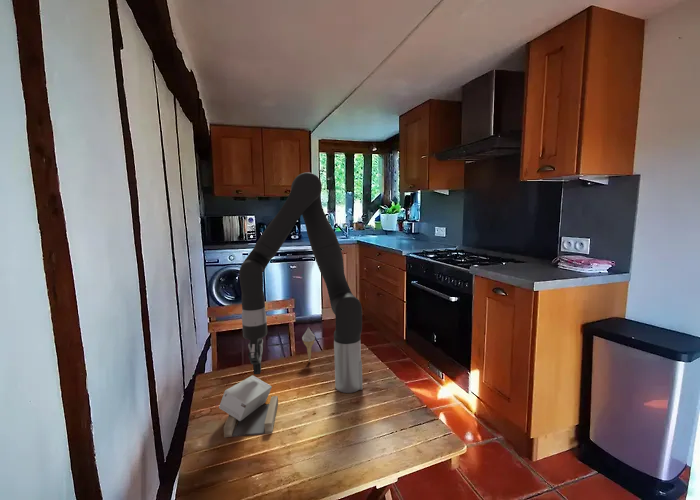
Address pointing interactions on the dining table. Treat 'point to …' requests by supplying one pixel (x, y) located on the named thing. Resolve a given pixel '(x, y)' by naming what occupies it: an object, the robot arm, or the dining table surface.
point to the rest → (253, 421)
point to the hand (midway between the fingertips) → (257, 373)
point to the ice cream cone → (308, 341)
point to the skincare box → (245, 397)
